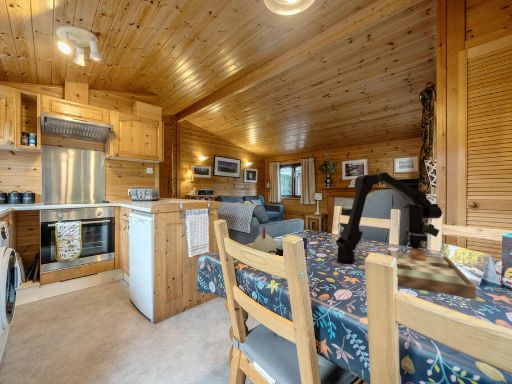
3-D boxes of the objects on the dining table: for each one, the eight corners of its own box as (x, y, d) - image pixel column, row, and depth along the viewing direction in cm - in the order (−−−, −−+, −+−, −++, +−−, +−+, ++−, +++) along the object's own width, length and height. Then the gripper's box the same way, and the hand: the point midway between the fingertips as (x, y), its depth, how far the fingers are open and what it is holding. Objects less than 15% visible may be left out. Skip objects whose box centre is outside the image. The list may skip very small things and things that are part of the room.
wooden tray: (390, 284, 80) (390, 274, 80) (387, 257, 111) (387, 250, 111) (475, 298, 70) (475, 286, 69) (446, 264, 100) (446, 256, 100)
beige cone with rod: (277, 255, 115) (277, 225, 115) (280, 264, 101) (280, 230, 101) (249, 255, 115) (249, 225, 115) (248, 264, 102) (248, 230, 101)
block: (411, 259, 99) (411, 250, 99) (409, 256, 104) (409, 247, 104) (425, 261, 97) (425, 251, 97) (423, 258, 101) (423, 248, 101)
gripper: (442, 222, 94) (442, 260, 94) (433, 217, 111) (432, 250, 111) (409, 220, 99) (409, 257, 100) (405, 216, 116) (405, 247, 116)
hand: (415, 252), depth 106 cm, fingers closed
